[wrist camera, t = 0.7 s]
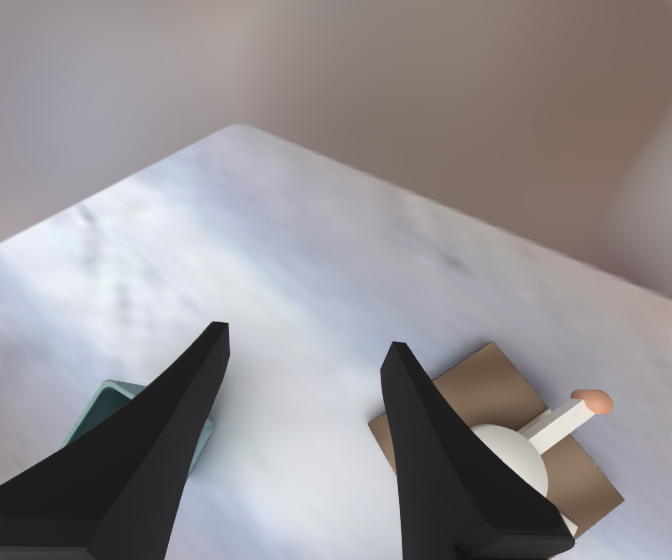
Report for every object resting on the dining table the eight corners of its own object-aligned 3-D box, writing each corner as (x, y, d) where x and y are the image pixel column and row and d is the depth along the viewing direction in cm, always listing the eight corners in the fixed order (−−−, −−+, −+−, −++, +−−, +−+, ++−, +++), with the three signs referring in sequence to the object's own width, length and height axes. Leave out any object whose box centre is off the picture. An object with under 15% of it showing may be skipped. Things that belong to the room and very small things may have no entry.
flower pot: (124, 462, 29) (26, 493, 20) (173, 380, 31) (104, 376, 23) (191, 508, 27) (113, 562, 18) (238, 415, 29) (187, 426, 21)
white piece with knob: (490, 525, 22) (503, 539, 20) (441, 448, 24) (448, 454, 22) (618, 428, 23) (642, 432, 21) (560, 364, 25) (577, 362, 23)
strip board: (609, 493, 24) (638, 505, 22) (470, 603, 22) (483, 630, 20) (487, 343, 29) (498, 339, 27) (367, 423, 28) (368, 426, 25)
